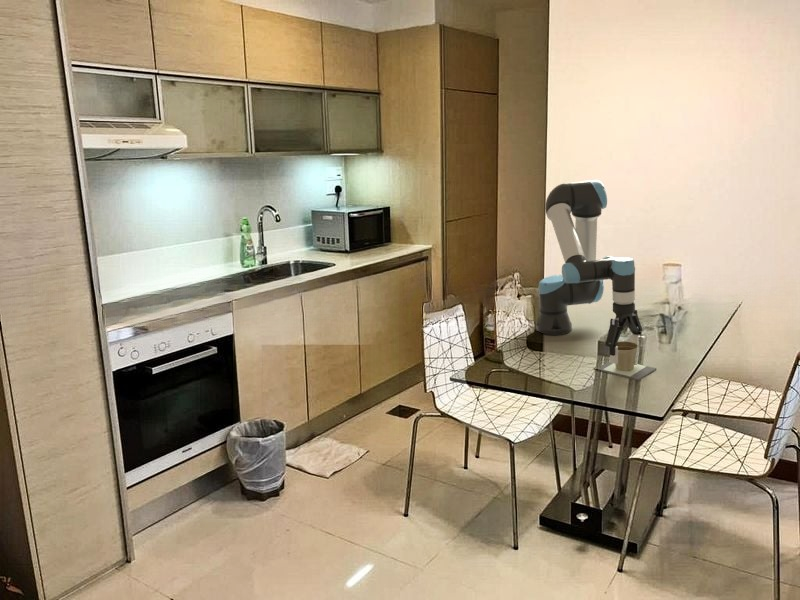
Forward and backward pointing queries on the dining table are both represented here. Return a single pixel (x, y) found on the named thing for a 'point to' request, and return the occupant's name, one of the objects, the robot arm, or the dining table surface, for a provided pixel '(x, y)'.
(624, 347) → the flower pot
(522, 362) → the dining table surface
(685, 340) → the dining table surface
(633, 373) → the flat plate
